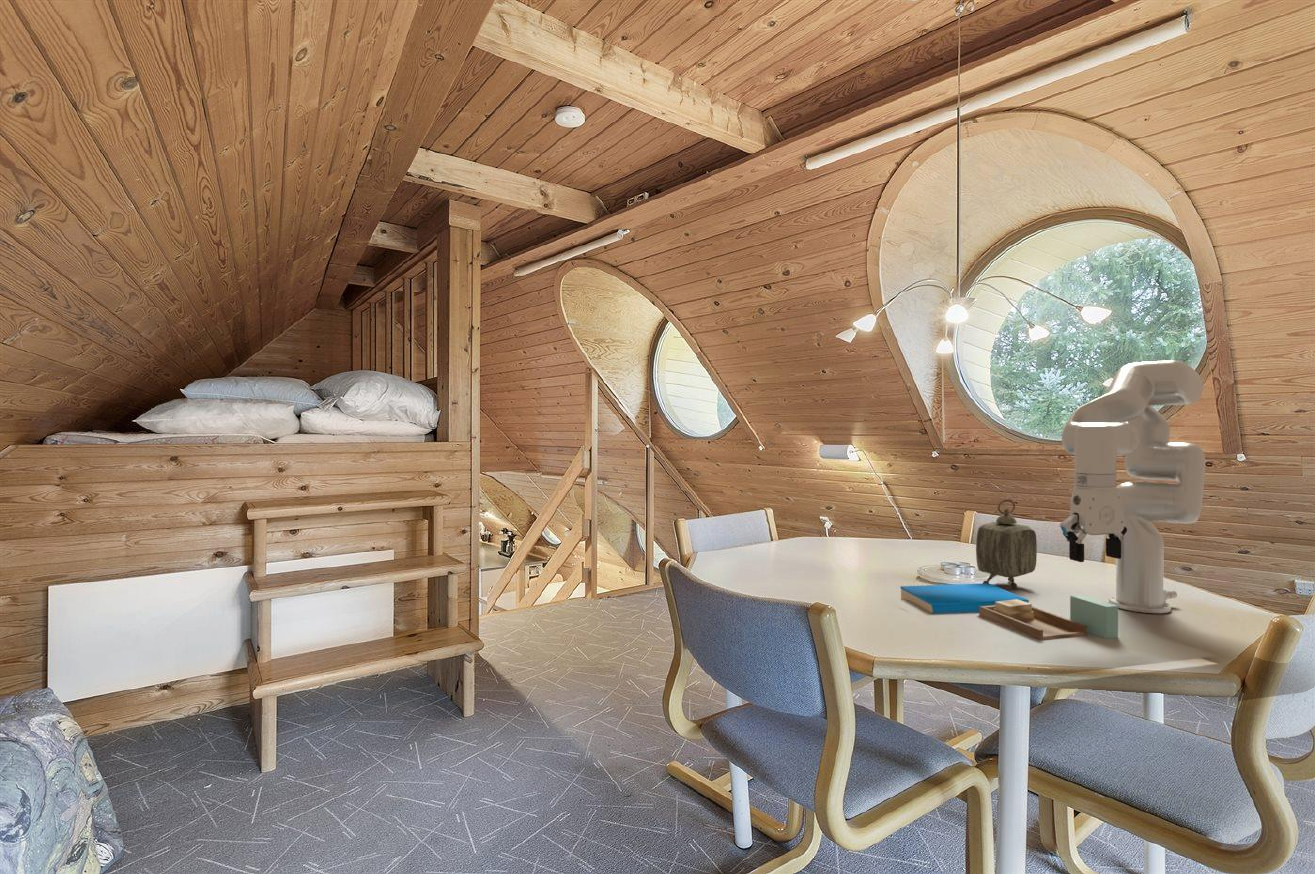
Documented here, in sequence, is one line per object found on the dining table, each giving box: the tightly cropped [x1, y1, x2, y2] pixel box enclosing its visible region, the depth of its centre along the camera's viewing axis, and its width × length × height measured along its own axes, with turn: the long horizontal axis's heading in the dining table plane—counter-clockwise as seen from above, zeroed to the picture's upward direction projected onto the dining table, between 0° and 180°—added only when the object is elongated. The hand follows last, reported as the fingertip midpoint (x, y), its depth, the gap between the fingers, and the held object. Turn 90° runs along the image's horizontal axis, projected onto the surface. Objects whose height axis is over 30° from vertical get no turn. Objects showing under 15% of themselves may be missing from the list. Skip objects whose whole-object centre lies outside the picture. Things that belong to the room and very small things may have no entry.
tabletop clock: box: [975, 498, 1038, 589], centre depth 182 cm, size 14×9×25 cm, turn 115°
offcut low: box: [994, 609, 1034, 621], centre depth 150 cm, size 7×4×2 cm, turn 103°
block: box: [1069, 594, 1119, 639], centre depth 140 cm, size 9×3×8 cm, turn 13°
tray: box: [978, 605, 1088, 641], centre depth 145 cm, size 12×18×3 cm, turn 13°
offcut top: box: [995, 599, 1033, 614], centre depth 150 cm, size 6×4×2 cm, turn 107°
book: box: [900, 582, 1030, 614], centre depth 164 cm, size 17×4×25 cm
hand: (1095, 559), depth 140 cm, fingers open, 9 cm apart
